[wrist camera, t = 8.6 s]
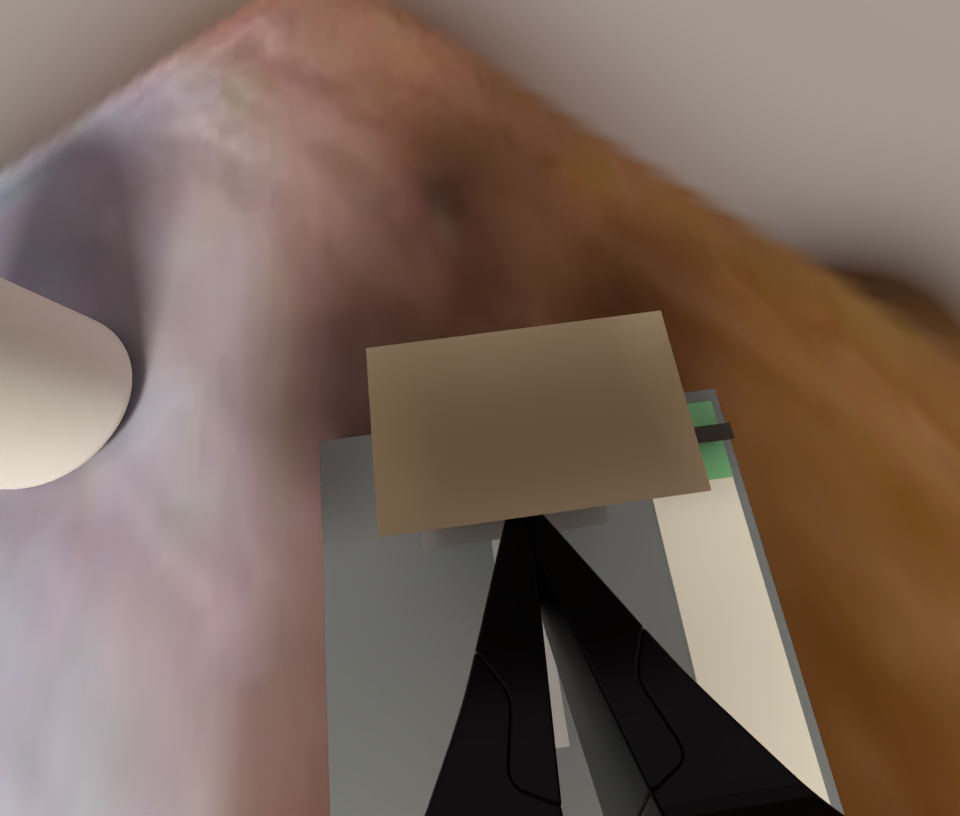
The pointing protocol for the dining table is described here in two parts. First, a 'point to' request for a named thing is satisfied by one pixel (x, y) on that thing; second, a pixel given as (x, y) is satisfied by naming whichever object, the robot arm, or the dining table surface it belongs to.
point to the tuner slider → (529, 428)
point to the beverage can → (55, 387)
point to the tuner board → (459, 611)
